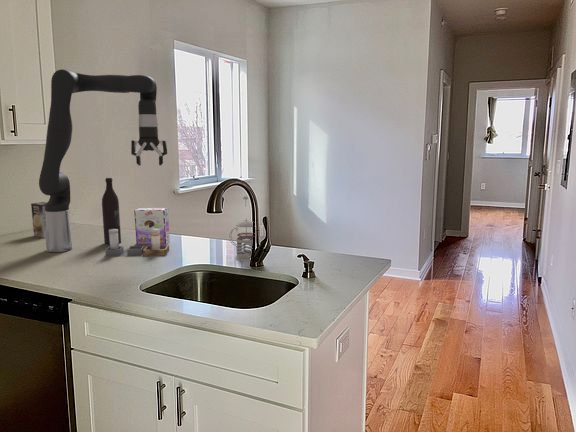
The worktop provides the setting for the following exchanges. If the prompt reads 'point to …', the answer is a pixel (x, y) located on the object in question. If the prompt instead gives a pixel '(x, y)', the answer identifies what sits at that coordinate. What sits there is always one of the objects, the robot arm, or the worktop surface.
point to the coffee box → (39, 219)
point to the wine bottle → (110, 211)
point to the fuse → (113, 239)
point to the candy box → (151, 224)
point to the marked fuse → (155, 239)
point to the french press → (244, 254)
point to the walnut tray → (149, 252)
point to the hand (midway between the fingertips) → (150, 165)
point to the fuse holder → (130, 251)
